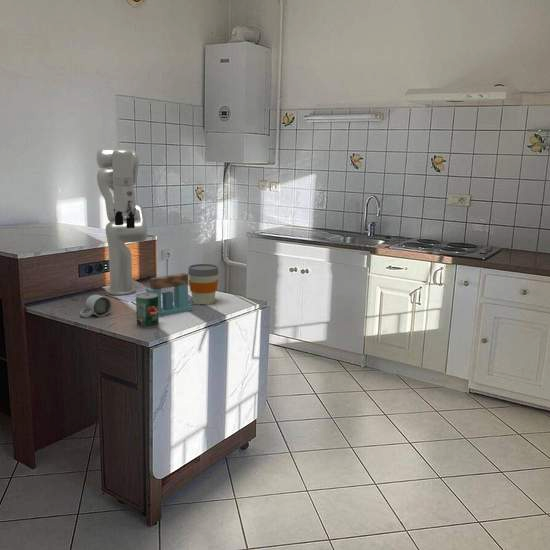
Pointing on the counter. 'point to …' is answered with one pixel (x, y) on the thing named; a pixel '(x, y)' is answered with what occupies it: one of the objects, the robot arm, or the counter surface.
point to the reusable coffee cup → (203, 283)
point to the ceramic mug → (97, 306)
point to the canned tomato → (147, 309)
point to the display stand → (167, 300)
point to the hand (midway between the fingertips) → (124, 226)
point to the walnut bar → (168, 281)
